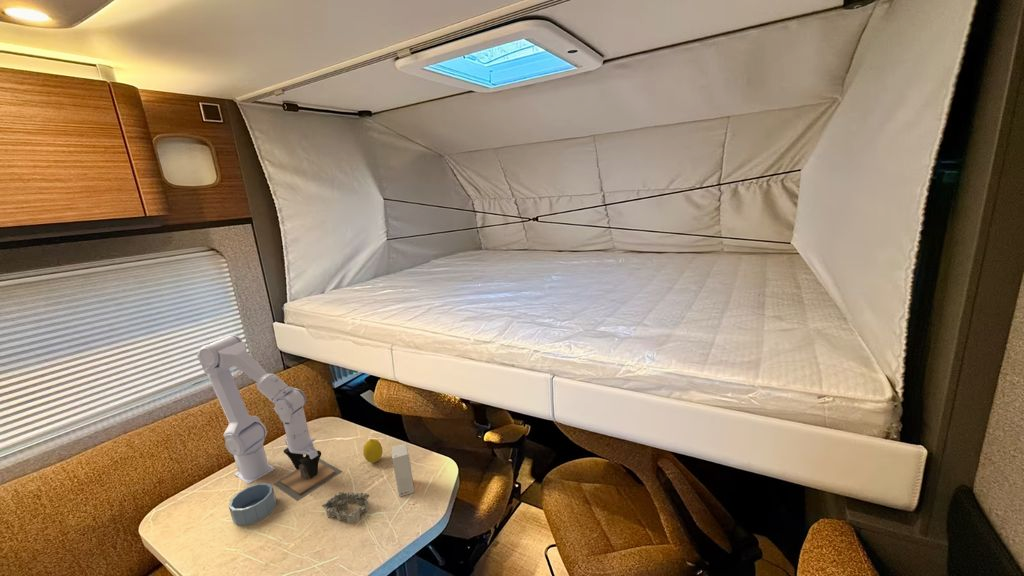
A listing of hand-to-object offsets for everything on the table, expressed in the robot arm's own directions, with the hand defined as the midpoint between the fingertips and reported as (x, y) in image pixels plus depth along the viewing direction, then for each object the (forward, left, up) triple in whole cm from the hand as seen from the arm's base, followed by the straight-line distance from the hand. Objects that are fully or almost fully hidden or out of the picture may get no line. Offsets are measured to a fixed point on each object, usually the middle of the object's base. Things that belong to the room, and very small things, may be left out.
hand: (306, 471), depth 125 cm
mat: (0, 0, -2) cm, 2 cm away
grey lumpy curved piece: (+23, -2, -3) cm, 23 cm away
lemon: (+12, +15, -3) cm, 19 cm away
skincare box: (+30, +12, -3) cm, 32 cm away
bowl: (0, -15, -2) cm, 15 cm away
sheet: (0, 0, -2) cm, 2 cm away
